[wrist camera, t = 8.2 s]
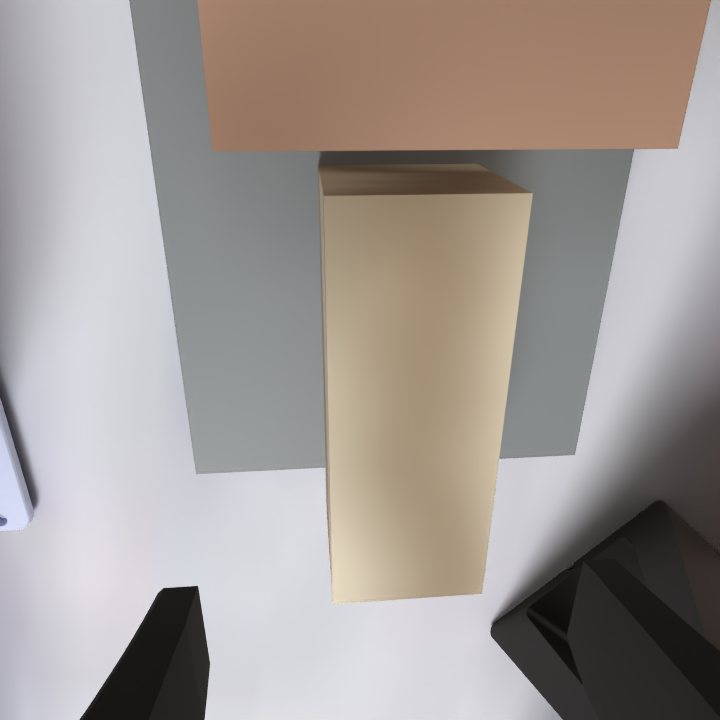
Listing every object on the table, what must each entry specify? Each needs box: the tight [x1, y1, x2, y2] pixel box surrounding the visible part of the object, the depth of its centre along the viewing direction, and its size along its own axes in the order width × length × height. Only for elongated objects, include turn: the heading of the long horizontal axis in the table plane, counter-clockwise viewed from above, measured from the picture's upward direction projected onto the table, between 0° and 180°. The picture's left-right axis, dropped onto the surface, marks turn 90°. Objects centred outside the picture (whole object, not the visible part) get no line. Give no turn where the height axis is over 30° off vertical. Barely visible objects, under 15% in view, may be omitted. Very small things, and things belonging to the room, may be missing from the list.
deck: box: [129, 0, 634, 474], centre depth 15 cm, size 12×20×2 cm, turn 0°
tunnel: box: [197, 0, 711, 152], centre depth 11 cm, size 8×3×5 cm, turn 90°
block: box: [318, 164, 533, 604], centre depth 15 cm, size 4×10×4 cm, turn 0°
